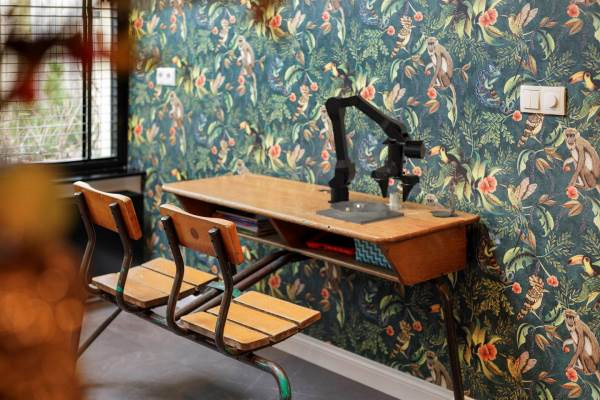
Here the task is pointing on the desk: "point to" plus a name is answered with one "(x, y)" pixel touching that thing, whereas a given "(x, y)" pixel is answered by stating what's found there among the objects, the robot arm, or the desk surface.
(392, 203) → the gear
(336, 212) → the grey flat ring
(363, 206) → the sun gear
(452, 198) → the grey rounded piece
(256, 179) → the desk surface
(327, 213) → the tray
